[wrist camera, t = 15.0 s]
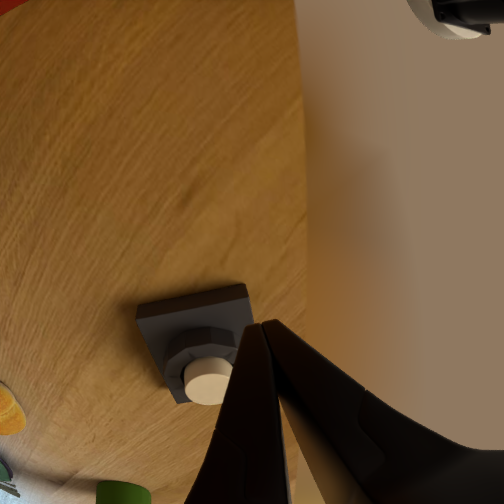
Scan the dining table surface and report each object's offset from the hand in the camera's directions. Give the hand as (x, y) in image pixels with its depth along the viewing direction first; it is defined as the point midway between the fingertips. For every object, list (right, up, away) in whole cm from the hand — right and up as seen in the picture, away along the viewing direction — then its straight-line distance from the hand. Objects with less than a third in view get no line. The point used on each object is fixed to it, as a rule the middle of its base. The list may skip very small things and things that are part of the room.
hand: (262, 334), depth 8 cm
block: (-4, -5, +17) cm, 18 cm away
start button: (-3, -7, +14) cm, 16 cm away
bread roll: (-29, -14, +17) cm, 36 cm away
